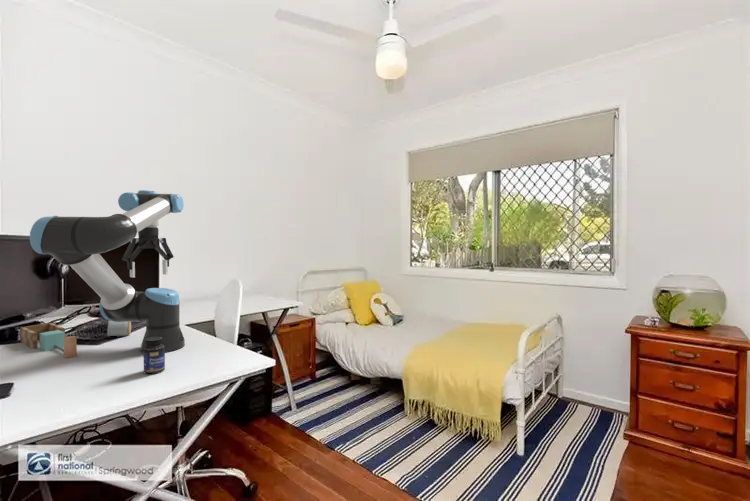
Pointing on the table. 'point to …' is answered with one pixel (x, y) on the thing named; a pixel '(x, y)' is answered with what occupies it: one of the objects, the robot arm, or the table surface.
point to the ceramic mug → (118, 328)
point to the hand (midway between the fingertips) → (149, 275)
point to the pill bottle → (154, 355)
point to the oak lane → (36, 333)
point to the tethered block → (59, 343)
